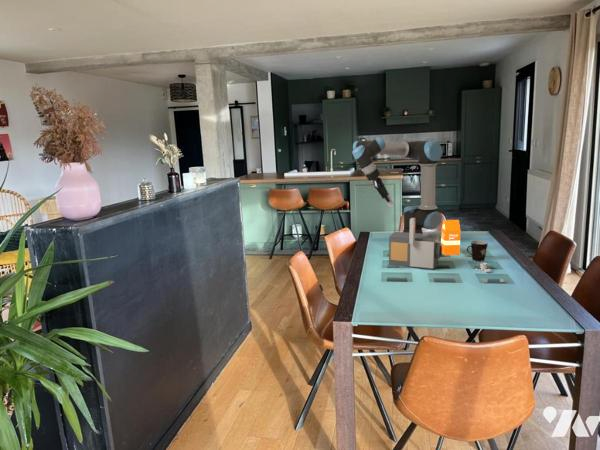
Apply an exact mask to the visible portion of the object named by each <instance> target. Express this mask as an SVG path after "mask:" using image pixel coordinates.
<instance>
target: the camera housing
mask: <svg viewBox="0 0 600 450" xmlns="http://www.w3.org/2000/svg"><path fill="white" fill-rule="evenodd" d="M439 238H440V234H433V233H427V232H423V234H420V233H415V240H416V241H428V242H434V268H433V269H432V268H422V267H413V266H410V244H409V233H406V232H403V231H394V232H392V234H390V235H389V237H388V265H389V266H395V267H396V266H397V267H405V268H415V269H424V270H432V271H433V270H435V269H436V267H437V265H438V263H439V259H440V258H441V257H442V255H443V253H442V244H441V242H440V239H439Z"/></svg>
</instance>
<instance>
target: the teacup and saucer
mask: <svg viewBox="0 0 600 450" xmlns="http://www.w3.org/2000/svg"><path fill="white" fill-rule="evenodd" d="M479 265H480V267H479V268H481V269H480V270H481V271H482V270H483V271H482V272H483V273H484V272H488V273H492V271H493V270H492V269H490V268H488V269H486V268H487V266H488V263H487V262H480V264H479ZM477 268H478V267H477ZM477 268H475V271H476V272H478V271H479V272H478V273H481V272H480V270H478V271H477Z"/></svg>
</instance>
